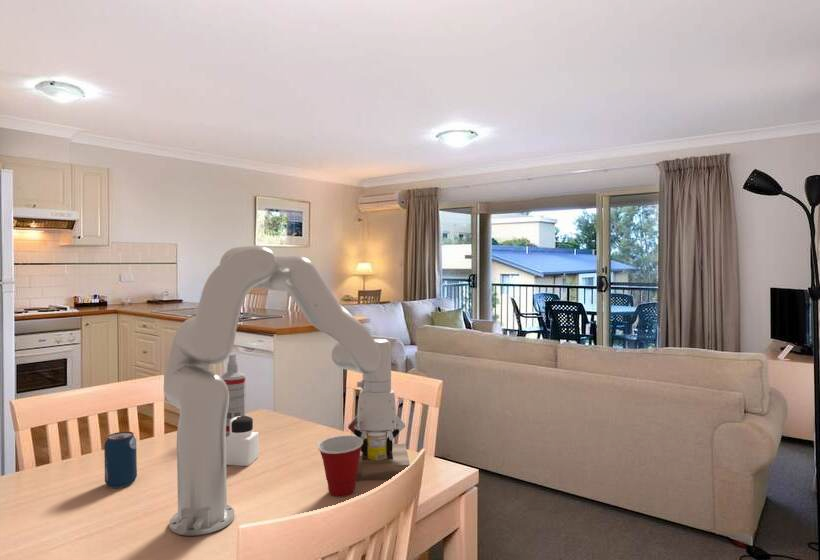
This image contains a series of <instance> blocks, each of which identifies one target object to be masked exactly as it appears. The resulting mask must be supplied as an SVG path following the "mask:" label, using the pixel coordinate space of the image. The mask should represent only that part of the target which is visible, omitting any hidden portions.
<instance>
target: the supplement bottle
mask: <svg viewBox="0 0 820 560" xmlns="http://www.w3.org/2000/svg"><path fill="white" fill-rule="evenodd" d="M387 438H388V434H387V431H367V434H366V460H387Z"/></svg>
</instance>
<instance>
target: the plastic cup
mask: <svg viewBox="0 0 820 560" xmlns="http://www.w3.org/2000/svg"><path fill="white" fill-rule="evenodd" d="M362 444H363V439H362V438H360V437H358V436H356V435H345V434H344V435H337V436H332V437H329V438H326V439H324V440H321V441H320V442H318V444H317V450H318V451H319V452H320V455H321V459H322V462H323V467H324V473H325V478H326V482H327V487H328V492H329V495H331V496H333V495H334V496H333V497H337V496H340V497H339V498H341V497H347V496H350V495H352V494H353V493H354V491H355V487H356V481H357V480H356V477H357V470H358V463H359V456H360V451H361V447H362Z"/></svg>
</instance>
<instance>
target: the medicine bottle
mask: <svg viewBox="0 0 820 560" xmlns="http://www.w3.org/2000/svg"><path fill="white" fill-rule="evenodd" d="M253 422H254V420H253V417H252V416H247V415H246V416H238V417H234V418H232V419H231V420H230V434H228V435H227V436H226V466H237V467H238V466H239V467H240V466H241V467H249V466H250V465H251V464H252V463H254V462H255V461H256V460H257V459H258V458H259V456H260V455H259V454H260V451H259V446H260V445H259V443H260V442H259V440H260V439H259V432H258V431H253V430H254V429H253V428H254V427H253V426H254V424H253Z"/></svg>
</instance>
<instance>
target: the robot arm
mask: <svg viewBox="0 0 820 560" xmlns="http://www.w3.org/2000/svg"><path fill="white" fill-rule="evenodd" d="M254 288H257V289H264V290H271V291H278V292H279V291H280V292H287V293H288V294H289V296H290V297H291V299H292V300H293V301H294V302H295V304H296V305H297V308H298V309H300V311H301V312H302V314H303V315H304V317H305V318H306V320H307V322H309V324H310V325H312V326H313V327H315V328H316V329H317V330H318V331H320V332H322V333H325V334H326V335H327V336H330V337H331V338H333V339H334V340H335V341H336V342H337V343H336V344H335V345H334V346H333V348H332V350H331V359H332V362H333V363H334V364H335V365H336V366H337V367H338V368H340V369H343V370H346V371H352V372H355V373H359V374H362V380H361V381H357V382H356V387H357V388H360V390H359V394H358V400H357V402H358V403H357V415H356V416H355V417H354V418H353V419H352V420H351V421H350V423H349V424H348V426H347V428H348V430H350V432H352V433H353V434H354V436H358V437H360V438H362V439H363V444H362V447H361V452H364V456H366V434H367V431H387V455H388V456H390V451H392V444H393V440H394V439H395V438H396V437H397V436H398V435H399V434H400V432H401V431H403V430H404V429H405V428H406V423H404V421H403V420H402V419H401V418H400V417H399V416H398V415H397V406H396V405H397V403H396V397H395V391H394V390H393V389H392V344H391V341H390V340H388V339H385V338H374V337H373V336H372V335H371V333H370V332H369V330H368V329H367V328H366V327H365V326H364V324H363V323H361V322H360V320H359V319H357V318H356V317H355V316H354V315H353V314H352V313H350V312H349V310H348V309H347V308H345V307H344V306H343V305H342V304H340V302H339V301H338V300H337V298H336V297H335V295H334V293H333V292H332V291H331V288H329V286H328V284H327V283H326V281H325V280H324V278H323V276H322V275H321V273H320V272H319V271H318V269H317V267H316V266H315V264H314V263H313V262H312V261H311V260H310V259H308V258H307V257H305V256H299V255H298V256H279V255H275V253H274V252H273V251H272V249H270V248H268V247H266V246H262V245H249V246H248V245H247V246H238V247H237V246H236V247H234V248H230V249H228V250H227V251H225V252H224V254H222V256H221V258H220V262H219V265H217V267H215V269H214V270H213V271H212V272H211V274H209V276H208V278H207V279H206V282H205V283H204V286H203V288H202V291H201V295H200V299H199V301H198V305H197V310H196V313H195V316H193V317H190V318H187V319H186V320H184V321H183V322H182V323H181V324H180V325H179V327H178V328H177V329H176V331H175V333H174V336H173V339H172V343H171V348H170V351H169V356H168V360H167V366H166V369H165V374H164V381H163V392H164V396H165V398H166V400H167V401H168V402H169V403H170V404H171V405H172V406H174V407H175V408H177V409H179V419H178V423H177V432H176V453H177V454H176V456H177V457H176V458H177V460H176V461H177V464H176V466H177V467H176V468H177V475H176V476H177V512H176V513H174V514H173V515H172V517H171V518H170V519H169V529H170V530H171V531H172V532H173V533H175V534H177V535H178V536H179V535H180V536H181V535H182V536H187V537H189V536H190V537H191V536H193V537H194V536H201V535H208V534H211V533H214V532H217V531H219V530H222V529H224V528H225V527H227V526H229V525H230V524H231V523H232V522H233V521H234V519H235V509H234V508H233V507H232V506H230V505H228V504H227V502H228V501H227V499H228V498H227V491H228V490H227V465H226V437H227V434H226V420H227V412H228V406H229V390H228V387H227V385H226V383H225V381H224V380H223V379H222V378H221V377H220V376H221V375H219V374H217V373H215V371H214V372H213V371H212V365H216V364H220V363H221V364H222V363H224V362H225V361H226V360H227V359H229V356H230V354H232V353H233V348H234V345H235V341H236V339H235V338H236V334H237V329H238V324H239V318H240V313H241V310H242V307H243V303H244V301H245V299H246V297H247V295H248V294H249V293H250V291H252V290H253V289H254ZM361 389H362V390H361ZM356 425H357V427H356Z"/></svg>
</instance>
